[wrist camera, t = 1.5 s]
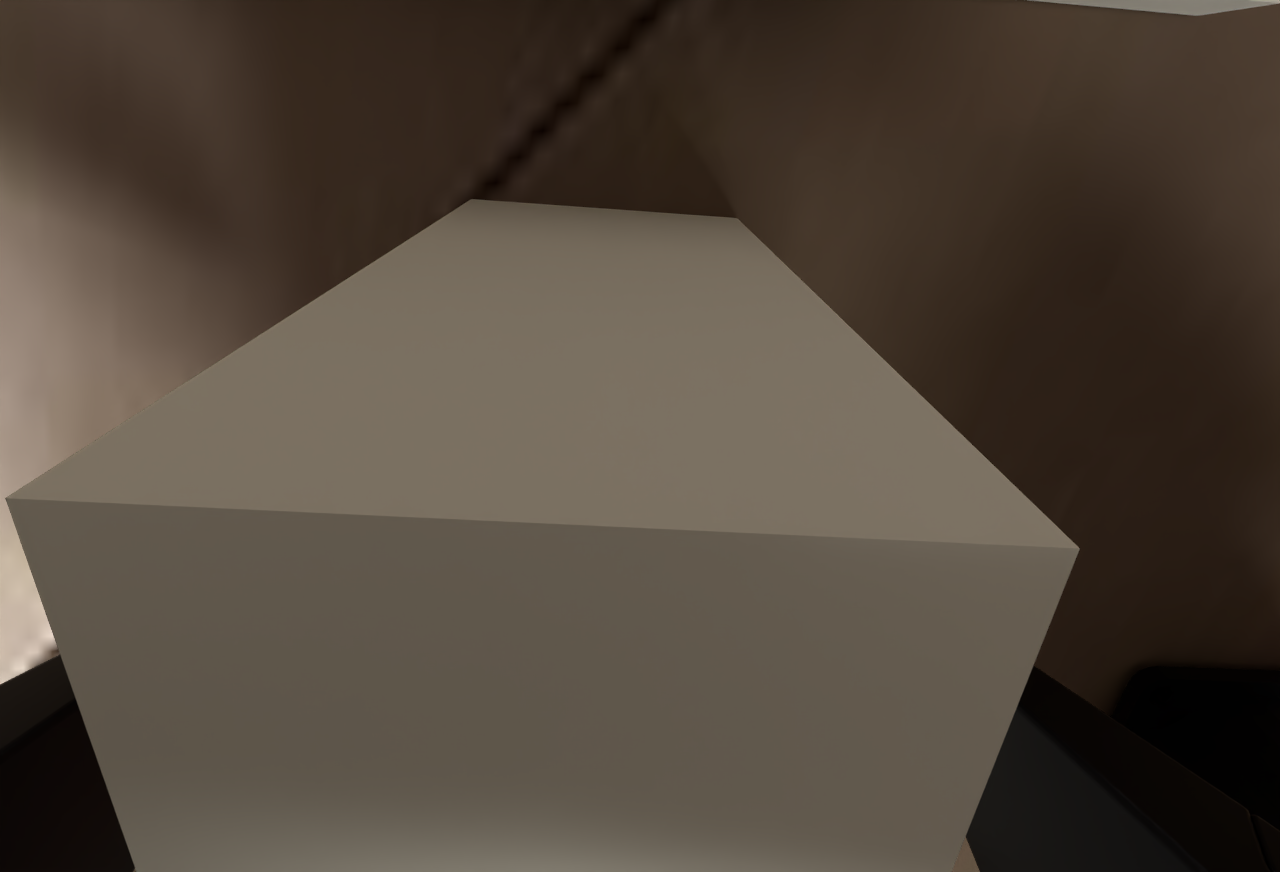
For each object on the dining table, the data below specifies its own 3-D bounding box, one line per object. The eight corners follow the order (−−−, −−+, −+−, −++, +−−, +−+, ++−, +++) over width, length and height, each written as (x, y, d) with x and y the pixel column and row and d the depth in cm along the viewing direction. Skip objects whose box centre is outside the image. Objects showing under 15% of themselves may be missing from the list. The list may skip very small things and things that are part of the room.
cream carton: (736, 217, 12) (1080, 547, 3) (684, 631, 16) (771, 1325, 7) (463, 198, 12) (-33, 498, 3) (475, 623, 16) (282, 1331, 7)
